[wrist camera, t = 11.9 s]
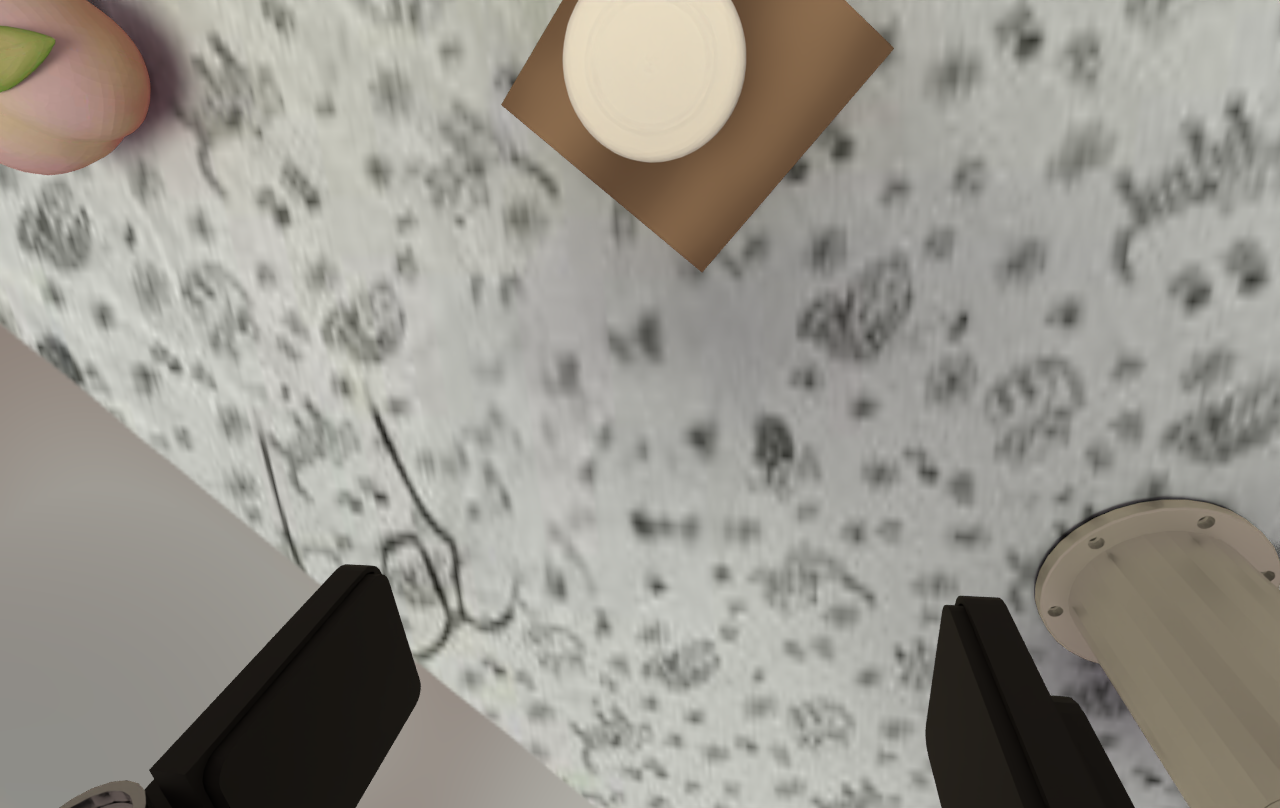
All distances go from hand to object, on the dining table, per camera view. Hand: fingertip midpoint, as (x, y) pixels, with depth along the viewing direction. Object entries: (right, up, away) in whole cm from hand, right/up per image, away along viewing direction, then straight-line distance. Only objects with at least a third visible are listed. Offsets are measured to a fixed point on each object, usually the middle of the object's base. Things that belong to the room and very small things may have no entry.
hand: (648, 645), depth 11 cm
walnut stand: (+2, +20, +20) cm, 28 cm away
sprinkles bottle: (+2, +18, +17) cm, 25 cm away
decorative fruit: (-29, +22, +24) cm, 44 cm away
